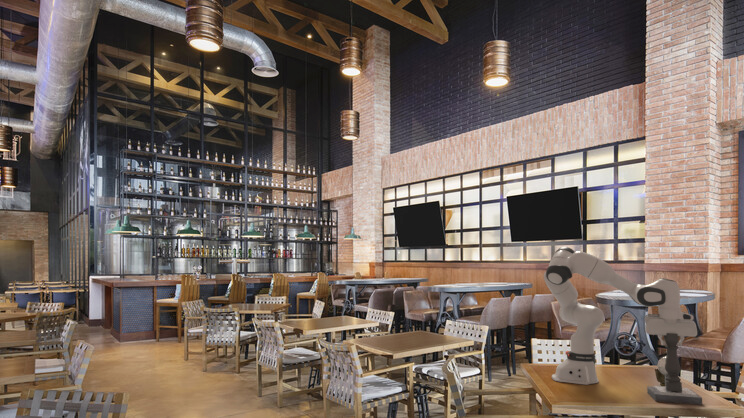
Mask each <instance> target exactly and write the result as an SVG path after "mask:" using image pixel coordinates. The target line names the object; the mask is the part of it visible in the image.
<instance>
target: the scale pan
mask: <svg viewBox="0 0 744 418" xmlns="http://www.w3.org/2000/svg"><path fill="white" fill-rule="evenodd" d="M653 387H654V389H655V390H656V391H657V392H658V393H659V394H660V395H673V396H685V397H697V395H696V394H697V393H696V392H695V391H694V390H692V389H690V388H689V387H682V391H670V390H667V389H666V386H661V385H653ZM691 390H692V391H691ZM693 391H694V392H695V393H696V394H695V393H694V392H693Z"/></svg>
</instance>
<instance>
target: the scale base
mask: <svg viewBox="0 0 744 418" xmlns="http://www.w3.org/2000/svg"><path fill="white" fill-rule="evenodd" d="M666 359H667V356H663V357H661V358H660V359H659V360H658V361H657V368H658V370H659V371H660V372H661V373H662V374H663V375H665V381H666V380H667V379H666V377H667V376H668V374H667V373H668V372H667V371H666V370H665V363H666ZM665 386H666V382H665ZM646 387H647V389H646V390H647V394H648V395H649V396H650V397H651V398H652V399H653V400H654V401H655V402H660V401H664V402H663V403H672V402H673V403H675V404H684V403H686V404H687V405H701V406H703V397H702V396H701V395H699V394H697V393H696V392H695V391H694V390H692V389H690V390H691V391H693V392H694V393H695V394H696V395H697V397H685V396H673V395H660V394H659V393H658V392H657V391H656V390H655V389H654V386H647V385H646ZM673 403H672V404H673ZM686 404H685V405H686Z"/></svg>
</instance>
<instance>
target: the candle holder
mask: <svg viewBox="0 0 744 418" xmlns="http://www.w3.org/2000/svg"><path fill="white" fill-rule="evenodd" d="M679 338H680V337H679V336H678V334H674V333H667V334H666V335H663V341H665V342H666V343H665V344H666V345H664V348H665V349H666V357H667V359H666V363H665V370H666V371H667V372H668V373H667V374H668V376H667V377H666V379H667V380H666V381H665V382H666V389H667V390H670V391H682V388H683V384H682V380H681V378H680V376H679V375H680V373H681V370H682V369H681V366H680V365H681V364H680V361H679V359H678V349H679V346H677V343H678V342H679V341H680V339H679Z"/></svg>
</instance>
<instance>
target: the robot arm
mask: <svg viewBox="0 0 744 418" xmlns="http://www.w3.org/2000/svg"><path fill="white" fill-rule="evenodd" d="M573 274H578V275H580V276H583V278H584V277H585V279H588V280H590V281H592V282H595V283H598V284H601V285H608V286H611V287H614V288H616V289H617V290H619V291H621V292H623V293H625V294H627V295H628V296H629V297H630V298H631V300H632V301H633V302H634V303H636V304H638V305H639V306H644V307H648V308H649V307H656V306H657V307H658V309H657V310H658V313H647V314H646V315H644V322H645V325H644V328H645V329H644V330H645V333H646V334H647V335H653V336H654V335H655V336H657V338H658V339H659V341H660V344H661V346H665V345H667V344H666V342H665V340H664V339H663V336H664V335H666V334H667V333H674V334H678V338H680V339H679V341H678V343H677V345H676V346H678V347H683V342H684V340H685V337H690V338H691V337H693V338H694V337H697V336H698V329H697V324H696V322H695V321H694V317H695V316H694V315H692V314H690V313H687V312H685V311H682V308H681V307H682V306H681V304H680V303H681V291H680V286H679V284H678V282H677V281H675V280H673V279H667V278H658V279H657V280H655V281H654V282H652V283H649V284H644V283H635V282H633V281H631V280H630V279H628V278H626V277H624V276H622V275H620V274H619V273H617V272H616V271H615V270H614V268H613V266H611V265H610V264H609V263H608V262H606V261H605V260H603V259H602V258H599V257H597V256H595V255H592V254H590V253H588V252H584V251H583V250H582V251H581V250H577V251H575V250H574V249H573V248H572V247H571V248H570V247H568V246H561V247H559V248H558V249H557V250H556V251H555V252H554V254H553V256H552V258H551V259H550V261H549V263H548V267H547V268H546V270H545V272H544V273H543V280H544V282H545V285H546V287H547V288H548V290H549V291H550V293H551V294H552V295H553V297H554V298H555V300H556V301H557V302H558V305H559V306H560V308H559V311H558V313H559V318H560V319H561V320H562V321H563V322H566V323H567V324H569V325H571V324H572V325H576V330H575V332H574V333H573V334H572V335H570V351H568V350H566V351H565V356H566V359H564V360H563V361H561V363H559V364H558V365H557V367H556V369H555V370H556V371H555V373H554V374H553V373H552V375H551V379H552V380H553V381H555V382H560V383H567V384H568V383H569V384H577V385H586V386H587V385H591V384H597V383H599V381H600V380H599V379H598V374H597V371H596V369H597V368H596V354H595V349H594V348H595V347H594V346H595V344H594V342H595V335H596V331H597V330H598V328H599V327H600V326H602V324H603V323H604V320H605V315H604V311H603V310H602V309H601V308H600V307H597V306H595V305H590V304H584V303H583V304H582V303H580V302H579V300H578V296H579V292H578V290H577V288H576V287H575V286H574V285H573V283H572V282H571V281H570V279H572V278H573Z"/></svg>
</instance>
